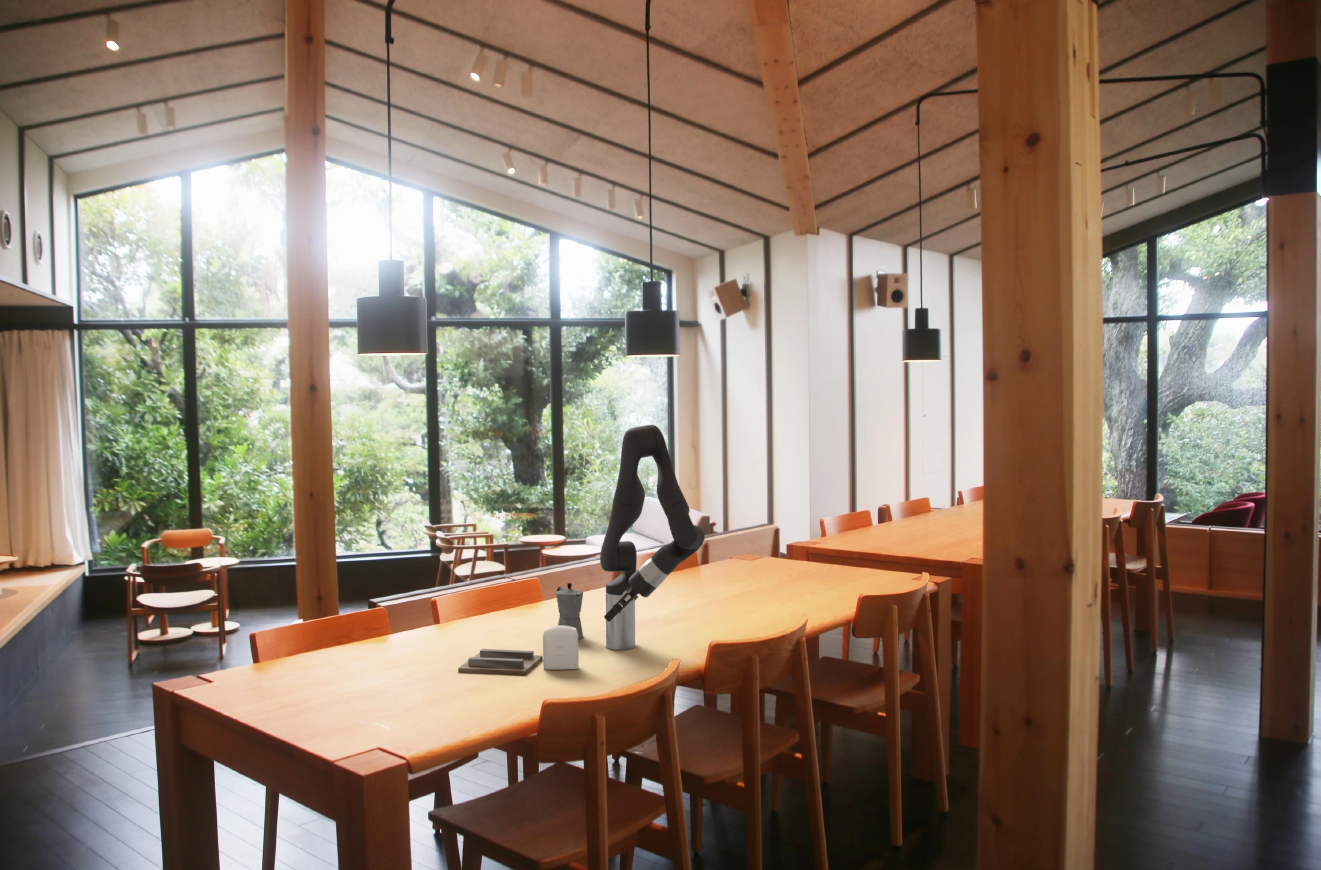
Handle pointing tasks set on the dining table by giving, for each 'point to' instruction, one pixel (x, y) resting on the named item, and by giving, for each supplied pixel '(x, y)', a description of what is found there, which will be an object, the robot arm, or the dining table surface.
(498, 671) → the cradle
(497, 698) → the dining table surface
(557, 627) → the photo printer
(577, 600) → the coffeepot
